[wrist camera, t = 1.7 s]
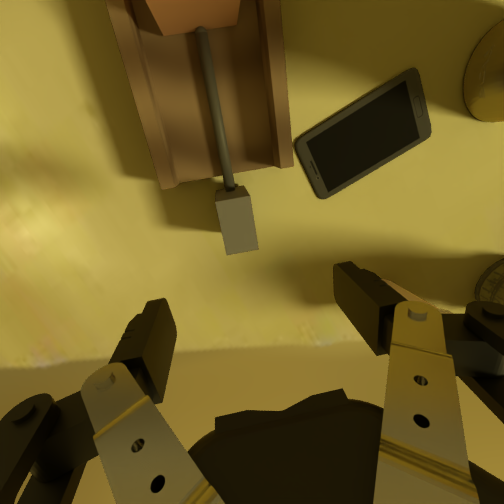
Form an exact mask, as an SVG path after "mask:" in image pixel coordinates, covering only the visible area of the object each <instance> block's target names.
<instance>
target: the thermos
mask: <svg viewBox="0 0 504 504" xmlns="http://www.w3.org/2000/svg"><path fill="white" fill-rule="evenodd" d="M475 299H476V300H477V301H489V302H495V303H499V304H502V305H504V259H503V260H500V261H498V262H496V263H495V264H494V265H492V266H491V267H490V268H488V269H487V270H486V272H485V273H484V274H483V275H482V276H481V278H480V279H479V281H478V283H477V285H476V289H475Z"/></svg>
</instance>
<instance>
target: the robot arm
mask: <svg viewBox="0 0 504 504" xmlns="http://www.w3.org/2000/svg"><path fill="white" fill-rule="evenodd" d="M463 91H464V100H465V103H466V105H467V108H468V110H469V111H470V113H471V114H472V115H473V116H474V117H476V118H477V119H479V120H481V121H484V122H501V121H504V20H503V21H501V22H500V23H498V24H497V25H495V26H494V27H493V28H492V29H491V30H490V31H489V32H488V33H487V34H486V35H485V36H484V37H483V39H482V40H481V41H480V43H479V44H478V45H477V47H476V49H475V51H474V52H473V54H472V56H471V58H470V61H469V63H468V66H467V69H466V73H465V78H464V88H463ZM333 283H334V296H335V300H336V302H337V304H338V306H339V307H340V308H341V309H342V311H343V312H344V313H345V315H346V316H347V317H348V319H349V320H350V321H351V323H352V324H353V325H354V327H355V328H356V329H357V331H358V332H359V333H360V335H361V336H362V337H363V339H364V340H365V341H366V343H367V344H368V345H369V347H370V348H371V349H372V350H373V352H374V353H375V354H376V356H379V355H383V354H388V355H389V366H388V375H387V384H386V393H385V403H384V409H383V408H381V407H379V406H377V405H374V404H371V403H368V402H364V401H360V400H354V399H348V398H347V396H346V394H345V392H344V390H343V389H338V390H333V391H329V392H325V393H320V394H316V395H312V396H310V397H308V398H306V399H304V400H302V401H300V402H298V403H297V404H295V405H293V406H291V407H289V408H287V409H285V410H283V411H257V410H246V411H241V412H237V413H232V414H228V415H224V416H219V417H216V418H215V430H214V431H211V432H210V433H208V434H207V435H205V436H204V437H202V438H201V439H200V440H199V441H197V442H196V443H195V444H194V445H193V446H192V447H191V448H190V450H189V451H188V452H187V451H186V450H185V449H184V447H183V445H182V444H181V443H180V441H179V440H178V438H177V437H176V435H175V434H174V432H173V431H172V429H171V428H170V426H169V425H168V424H167V422H166V421H165V419H164V418H163V416H162V415H161V413H160V412H159V411H158V409H157V408H156V406H155V405H154V404H158V403H162V402H163V398H164V393H165V389H166V384H167V379H168V375H169V370H170V366H171V361H172V356H173V352H174V347H175V343H176V338H177V330H176V325H175V322H174V319H173V316H172V313H171V311H170V308H169V305H168V302H167V300H166V299H165V298H161V299H156V300H151V301H148V302H147V303H146V305H145V308H144V310H143V312H142V313H141V314H137V315H136V316H135V317H134V318H133V319H132V320H131V321H130V322H129V324H128V325H127V327H126V329H125V333H123V335H122V337H121V340H120V341H119V343H118V345H117V347H116V349H115V351H114V353H113V355H112V357H111V359H110V361H109V363H108V365H105V366H103V367H101V368H100V369H98V370H96V371H95V372H94V373H92V375H90V376H89V377H88V378H87V379H86V381H85V382H84V384H83V385H82V388H81V391H79V392H76V393H74V394H72V395H70V396H67V397H65V398H63V399H61V400H59V401H56V402H55V401H54V399H53V398H52V397H51V395H49V394H45V393H44V394H38V395H35V396H32V397H30V398H28V399H26V400H24V401H23V402H21V403H19V404H18V405H17V406H15V407H14V408H13V409H11V410H10V411H9V412H8V413H7V414H6V415H5V416H4V417H3V418H2V420H1V421H0V504H14V502H15V498H16V496H17V493H18V492H19V490H20V488H21V486H22V484H23V482H24V480H25V479H26V477H27V475H28V473H29V471H30V472H31V474H32V476H31V478H30V480H29V482H28V484H27V485H26V488H25V489H24V491H23V493H22V495H21V497H20V499H19V501H18V503H17V504H72V501H73V498H74V496H75V493H76V490H77V487H78V485H79V482H80V479H81V477H82V474H83V471H84V468H85V466H86V463H87V461H88V460H91V459H92V458H94V457H96V456H98V455H99V456H100V459H101V462H102V464H103V468H104V470H105V473H106V476H107V479H108V482H109V485H110V487H111V490H112V493H113V496H114V499H115V501H116V504H504V482H503V481H502V480H500V479H498V478H497V477H495V476H494V475H492V474H490V473H489V472H487V471H485V470H484V469H482V468H480V467H479V466H477V465H476V464H474V463H472V462H471V461H469V460H468V456H467V450H466V443H465V436H464V430H463V423H462V416H461V410H460V403H459V396H458V390H457V384H456V376H458V377H459V378H460V379H461V380H462V381H463V382H464V383H465V384H466V385H467V386H468V387H469V388H470V389H471V390H472V391H473V392H474V393H475V394H476V395H477V396H478V397H479V399H480V400H482V402H483V403H484V404H485V405H486V406H487V407H488V408H489V409H490V410H491V411H492V412H493V413H494V414H495V415H496V416H497V417H498V418H499V419H500V420H501V421H502V422H503V424H504V305H502V304H499V303H495V302H489V301H474V302H471V303H469V304H468V305H467V306H466V310H465V314H444V313H440V312H439V311H438V310H437V309H436V308H435V307H433V306H431V305H429V304H427V303H423V302H419V301H408V300H407V299H406V298H404V297H403V296H402V295H401V294H400V293H398V292H397V291H396V290H395V289H393V288H392V287H391V286H390V285H388V284H387V283H386V282H385V281H384V280H382V279H381V278H380V277H379V276H377V275H376V274H375V273H373V272H371V271H368V270H366V269H359V268H358V267H357V266H356V265H355V264H354V263H353V262H351V261H348V262H343V263H338V264H334V266H333Z"/></svg>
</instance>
